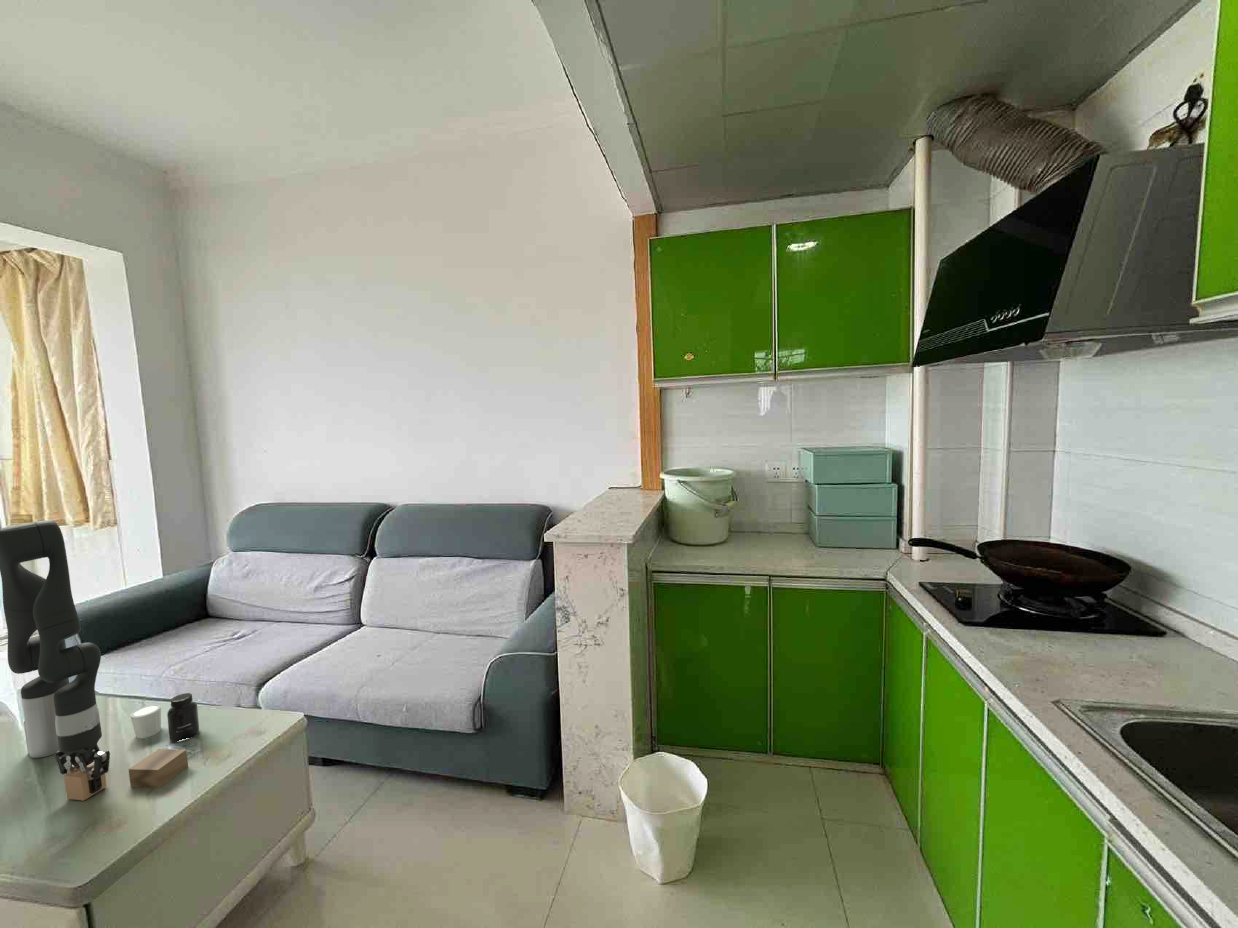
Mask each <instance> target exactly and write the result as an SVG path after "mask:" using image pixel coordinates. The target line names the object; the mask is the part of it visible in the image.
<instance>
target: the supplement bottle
mask: <svg viewBox="0 0 1238 928" xmlns="http://www.w3.org/2000/svg"><path fill="white" fill-rule="evenodd" d="M198 709H199V708H198V703H197V702H195V701H193V694H192V693H190V692H184V693H181V694H178V695H176V696H174V697H172V698H171V699H170V708H169V709H168V711H167V713H166V716H167V726H168V737H169V741H170V742H172V743H178V742H177V741H179V740H182V739H186V738H190V739H192V738H194V737H195V736H197V735H198V734H199V732H200V722H199V710H198ZM191 737H192V738H191Z"/></svg>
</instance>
